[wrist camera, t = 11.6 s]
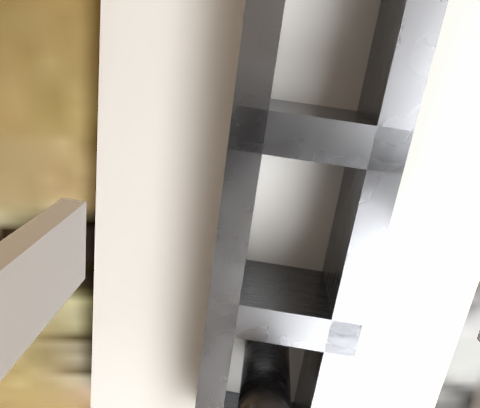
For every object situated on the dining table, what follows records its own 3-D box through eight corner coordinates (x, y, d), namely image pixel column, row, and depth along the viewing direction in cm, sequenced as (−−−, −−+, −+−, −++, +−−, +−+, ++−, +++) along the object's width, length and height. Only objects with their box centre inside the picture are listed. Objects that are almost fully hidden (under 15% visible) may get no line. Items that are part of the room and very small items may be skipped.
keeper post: (285, 366, 23) (287, 525, 15) (242, 359, 23) (224, 514, 15) (292, 330, 22) (299, 478, 14) (248, 323, 22) (231, 466, 14)
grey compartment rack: (312, 423, 24) (318, 493, 20) (201, 404, 24) (187, 470, 20) (436, -96, 16) (486, -143, 12) (269, -117, 16) (267, -170, 12)
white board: (404, 433, 26) (414, 463, 24) (104, 382, 27) (90, 407, 25) (594, -136, 17) (634, -160, 15) (125, -192, 17) (106, -222, 15)
